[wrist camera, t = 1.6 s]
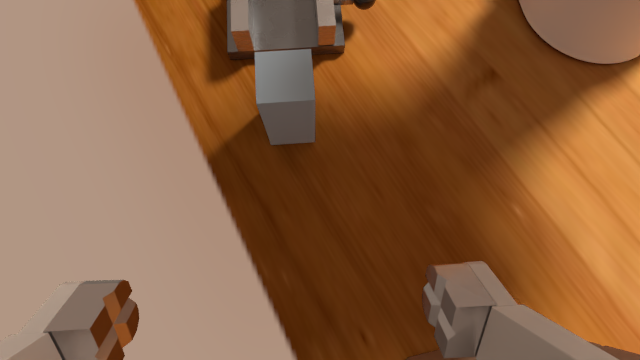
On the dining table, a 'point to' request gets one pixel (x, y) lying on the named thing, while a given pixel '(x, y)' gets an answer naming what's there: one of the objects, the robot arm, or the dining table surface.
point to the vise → (276, 27)
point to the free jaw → (332, 17)
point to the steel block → (286, 95)
